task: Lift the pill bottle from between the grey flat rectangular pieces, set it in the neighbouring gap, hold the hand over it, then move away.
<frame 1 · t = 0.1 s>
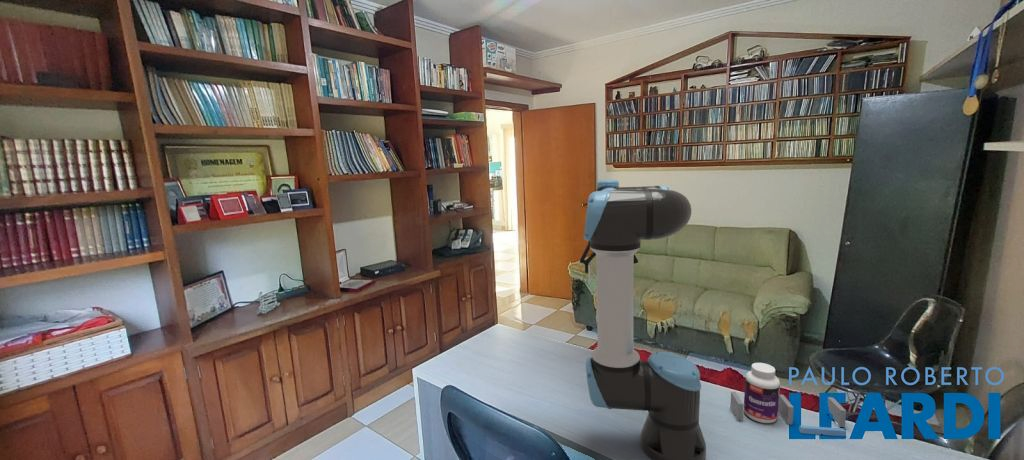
hand: (608, 281, 148), 28 cm above the table, fingers open, 13 cm apart
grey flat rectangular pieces: (784, 417, 111), on the table
pill bottle: (760, 416, 113), on the table
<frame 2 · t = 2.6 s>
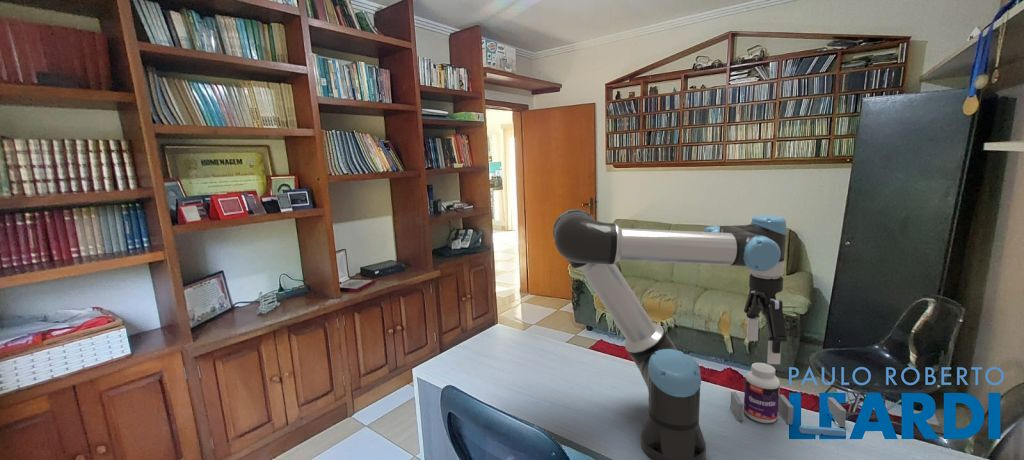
hand: (762, 351, 110), 19 cm above the table, fingers open, 13 cm apart
nothing on the table moved.
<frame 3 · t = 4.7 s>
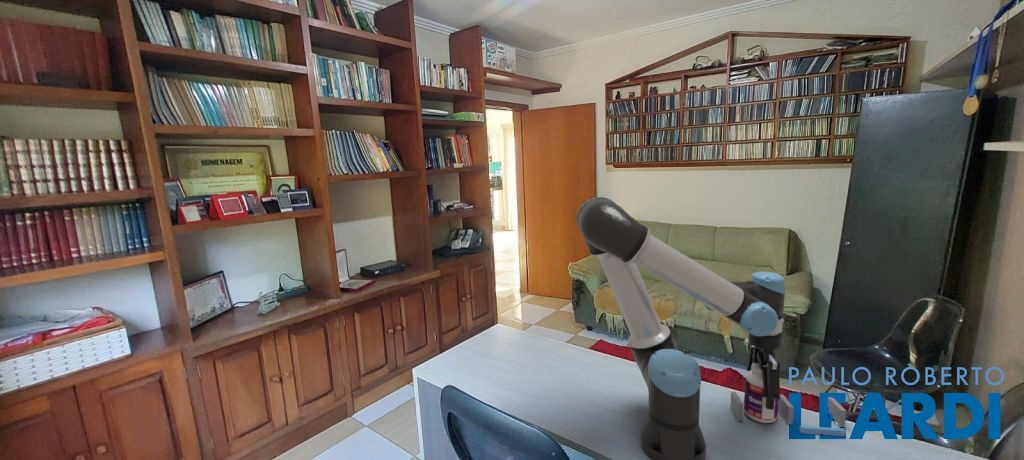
hand: (760, 408, 112), 2 cm above the table, fingers closed on pill bottle, 8 cm apart
pill bottle: (760, 416, 113), on the table, touching gripper
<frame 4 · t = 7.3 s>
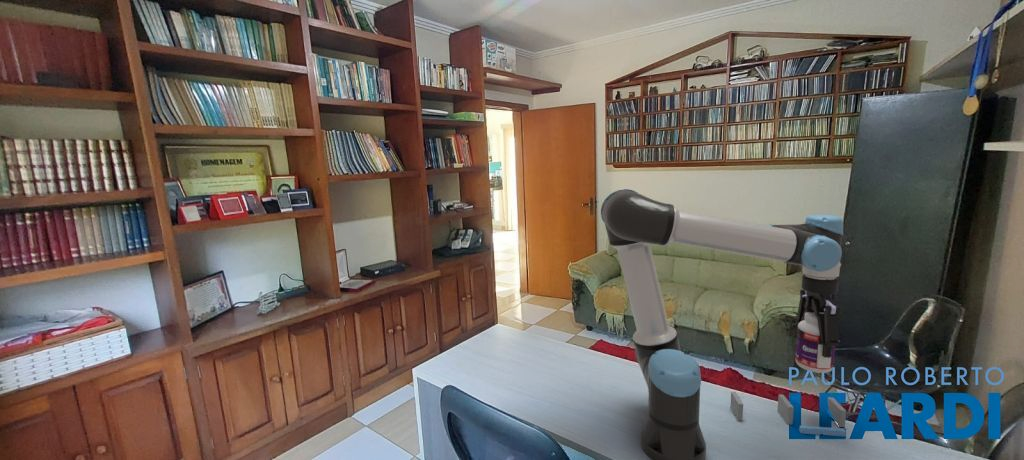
hand: (814, 359, 107), 17 cm above the table, fingers closed on pill bottle, 8 cm apart
pill bottle: (813, 367, 108), point 15 cm above the table, touching gripper
when the fingers open (4 cm above the table, at t = 10.2 s): pill bottle drops 1 cm, on the table.
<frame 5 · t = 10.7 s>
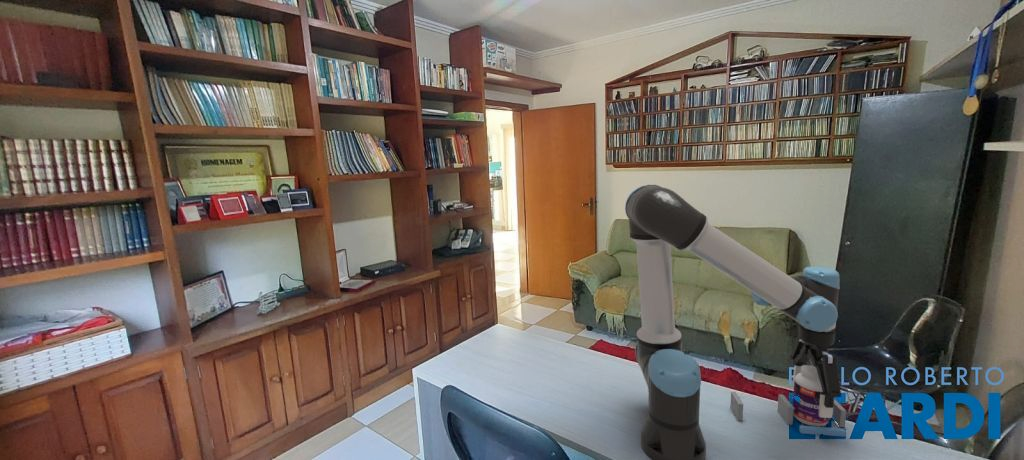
hand: (811, 401, 109), 5 cm above the table, fingers open, 13 cm apart
pill bottle: (809, 420, 110), on the table
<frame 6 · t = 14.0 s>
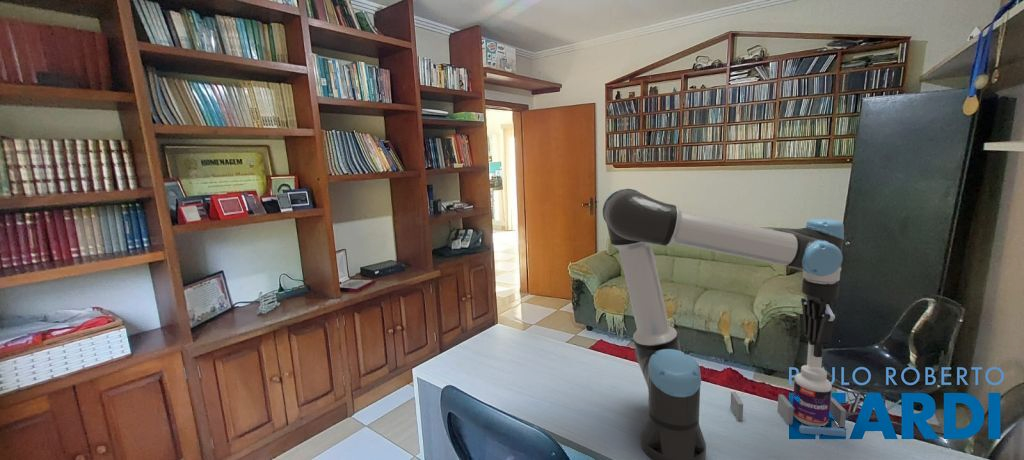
hand: (814, 366, 108), 15 cm above the table, fingers closed
nothing on the table moved.
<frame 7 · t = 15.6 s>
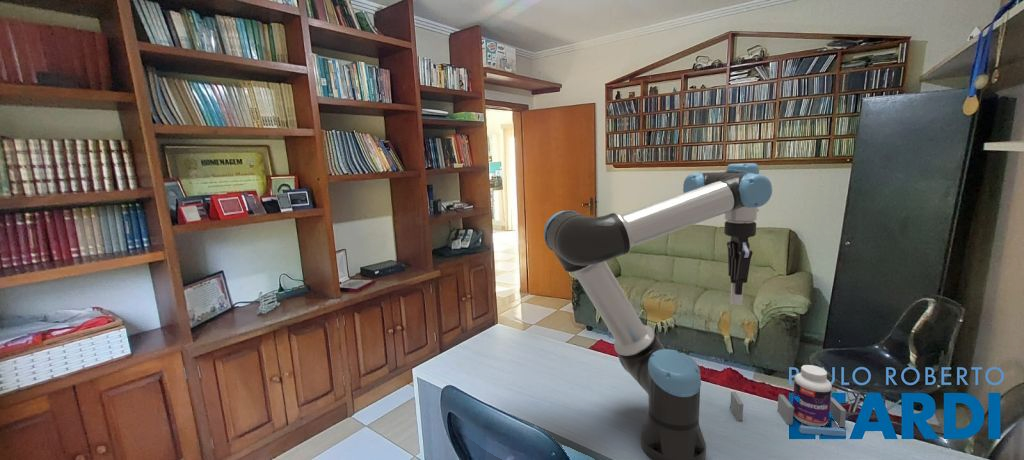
hand: (736, 304, 114), 30 cm above the table, fingers closed
nothing on the table moved.
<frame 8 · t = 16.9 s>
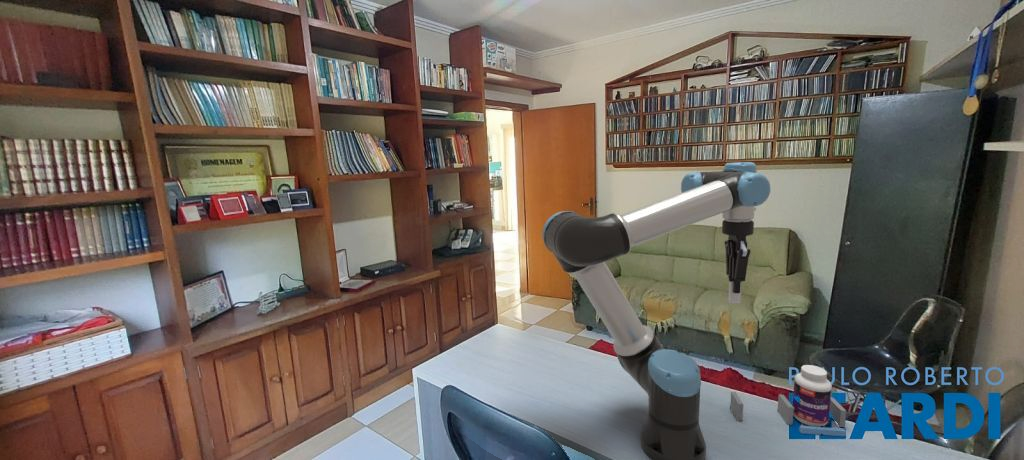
hand: (734, 302, 115), 30 cm above the table, fingers closed
nothing on the table moved.
at the end: pill bottle inside the target area (0.1 cm from its centre), on the table; pill bottle tilted 0°; the gripper is holding nothing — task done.
